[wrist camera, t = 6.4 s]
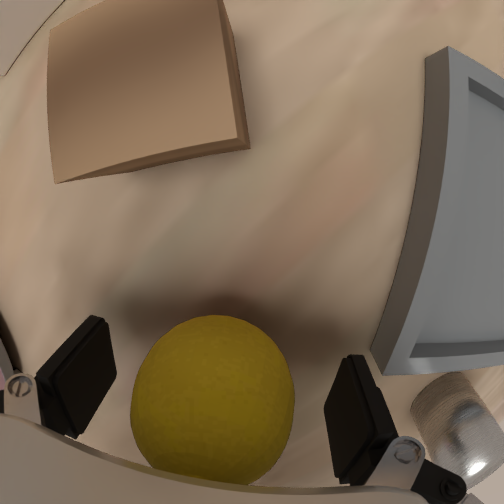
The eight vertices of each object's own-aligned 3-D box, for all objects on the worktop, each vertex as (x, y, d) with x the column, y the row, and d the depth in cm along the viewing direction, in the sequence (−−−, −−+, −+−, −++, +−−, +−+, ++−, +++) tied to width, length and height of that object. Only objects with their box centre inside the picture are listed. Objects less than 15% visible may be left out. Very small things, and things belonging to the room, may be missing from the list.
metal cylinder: (446, 415, 15) (481, 483, 8) (400, 422, 15) (430, 504, 8) (475, 369, 13) (525, 438, 7) (429, 374, 13) (478, 461, 7)
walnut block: (250, 148, 11) (237, 137, 6) (131, 172, 11) (54, 184, 6) (233, 35, 9) (211, -34, 4) (120, 65, 10) (50, 29, 5)
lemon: (289, 281, 12) (314, 447, 4) (286, 380, 14) (292, 525, 6) (161, 281, 12) (60, 414, 5) (179, 377, 14) (132, 506, 6)
